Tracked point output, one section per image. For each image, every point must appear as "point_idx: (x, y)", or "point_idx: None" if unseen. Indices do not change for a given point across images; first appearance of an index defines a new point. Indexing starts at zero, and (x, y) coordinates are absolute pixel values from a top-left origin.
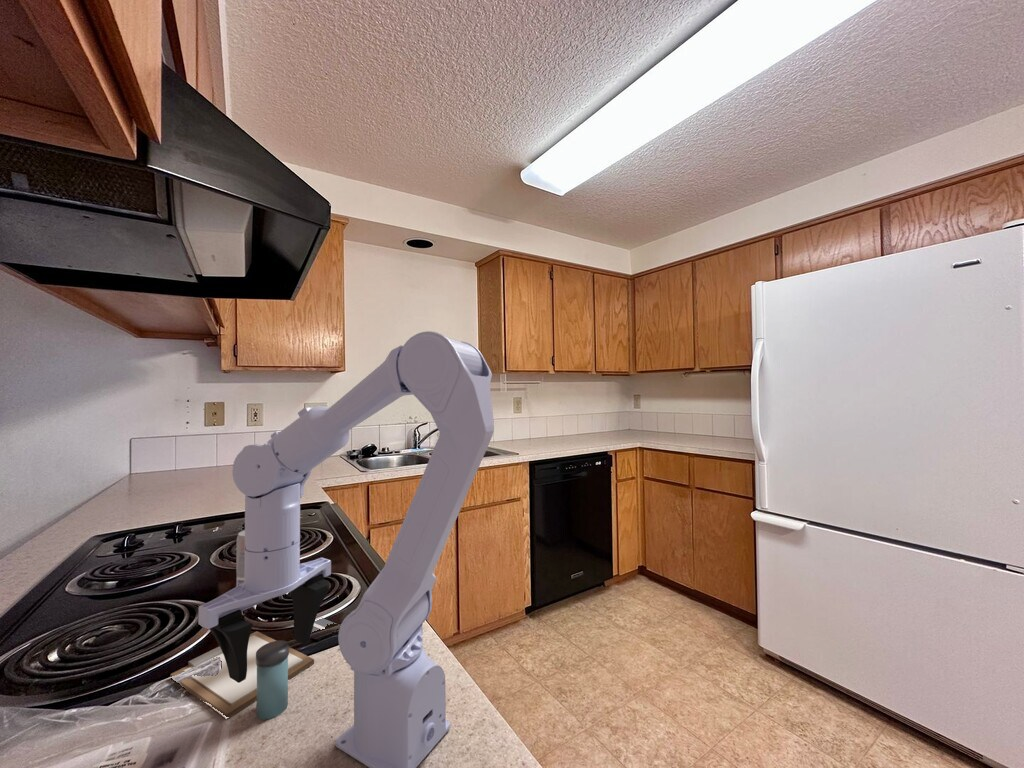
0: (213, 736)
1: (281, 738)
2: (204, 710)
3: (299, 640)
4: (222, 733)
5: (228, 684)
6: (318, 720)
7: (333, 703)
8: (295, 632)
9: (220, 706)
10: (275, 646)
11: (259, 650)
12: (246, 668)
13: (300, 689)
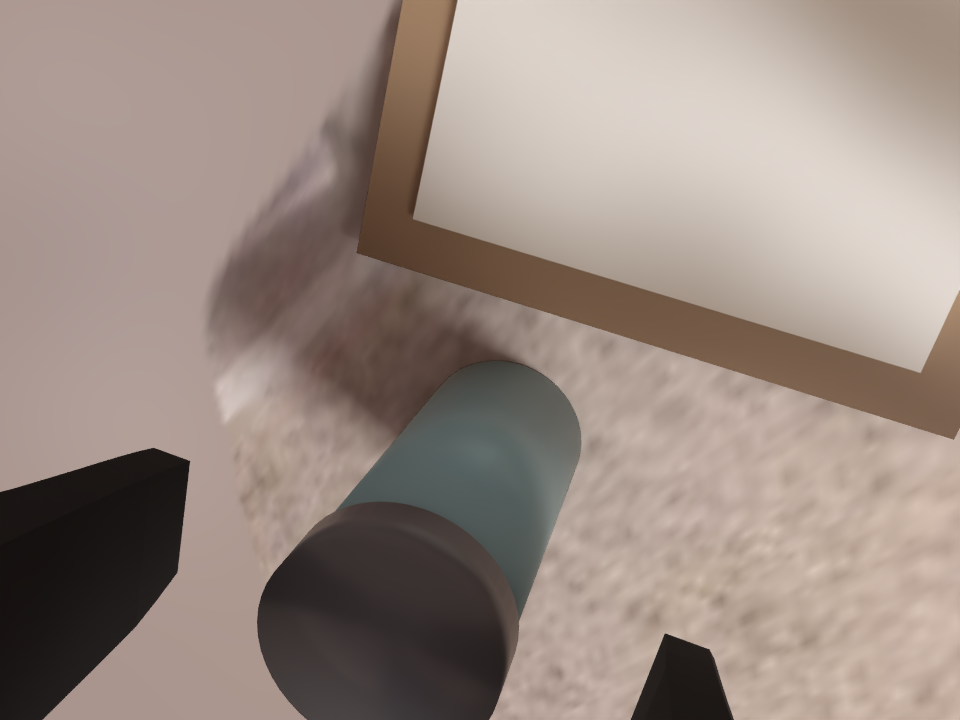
0: (273, 274)
1: None
2: (381, 31)
3: (639, 700)
4: (300, 304)
5: (548, 17)
6: (500, 698)
7: (616, 715)
8: (659, 686)
9: (388, 155)
10: (406, 657)
11: (324, 561)
12: (116, 640)
13: (676, 490)
